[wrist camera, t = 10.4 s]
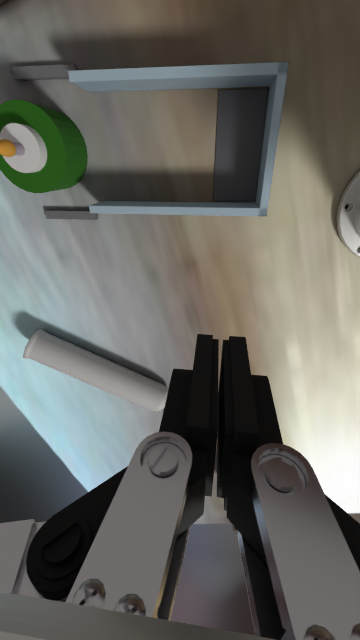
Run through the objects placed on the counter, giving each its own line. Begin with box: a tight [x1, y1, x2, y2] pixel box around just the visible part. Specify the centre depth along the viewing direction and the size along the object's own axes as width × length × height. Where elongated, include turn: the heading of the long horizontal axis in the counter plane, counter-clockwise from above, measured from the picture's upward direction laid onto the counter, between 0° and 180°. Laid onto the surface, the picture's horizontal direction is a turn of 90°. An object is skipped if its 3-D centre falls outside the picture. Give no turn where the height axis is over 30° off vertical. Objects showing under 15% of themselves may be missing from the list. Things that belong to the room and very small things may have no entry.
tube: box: [23, 329, 168, 412], centre depth 48 cm, size 5×5×25 cm
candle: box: [0, 100, 87, 193], centre depth 29 cm, size 8×8×10 cm
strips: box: [12, 64, 98, 220], centre depth 33 cm, size 7×15×1 cm, turn 0°
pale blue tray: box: [68, 62, 289, 216], centre depth 30 cm, size 20×13×4 cm, turn 90°
